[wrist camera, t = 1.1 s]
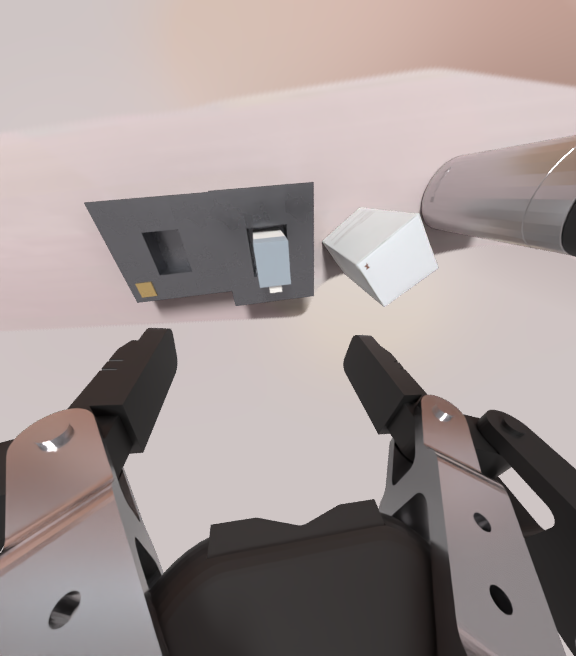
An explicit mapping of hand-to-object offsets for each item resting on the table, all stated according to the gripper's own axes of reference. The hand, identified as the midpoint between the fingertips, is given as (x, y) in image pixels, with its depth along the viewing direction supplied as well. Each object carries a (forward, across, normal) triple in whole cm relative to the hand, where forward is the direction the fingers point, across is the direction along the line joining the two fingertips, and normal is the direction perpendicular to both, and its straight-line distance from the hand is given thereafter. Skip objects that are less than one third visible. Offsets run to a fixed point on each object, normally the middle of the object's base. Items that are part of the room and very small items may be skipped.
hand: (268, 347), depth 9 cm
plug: (+19, -1, -1) cm, 19 cm away
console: (+25, +5, +1) cm, 26 cm away
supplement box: (+25, -15, -2) cm, 30 cm away
